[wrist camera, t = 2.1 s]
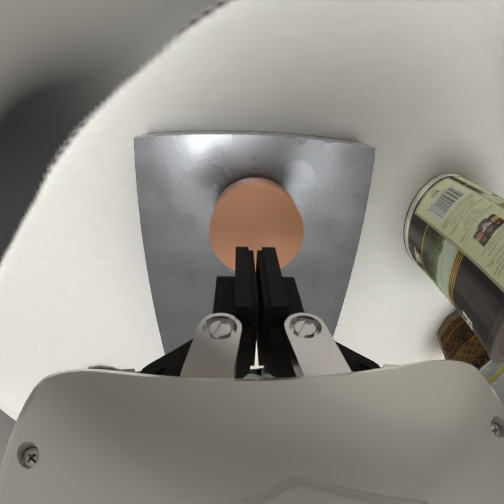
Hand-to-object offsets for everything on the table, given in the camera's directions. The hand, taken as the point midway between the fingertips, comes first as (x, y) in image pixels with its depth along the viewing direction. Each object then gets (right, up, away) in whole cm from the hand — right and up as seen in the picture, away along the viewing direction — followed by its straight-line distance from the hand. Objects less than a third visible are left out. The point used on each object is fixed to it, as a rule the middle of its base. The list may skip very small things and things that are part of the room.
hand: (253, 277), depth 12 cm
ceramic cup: (+28, -8, +18) cm, 34 cm away
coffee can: (+19, +4, +11) cm, 22 cm away
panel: (0, -3, +14) cm, 14 cm away
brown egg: (0, +5, +8) cm, 9 cm away
